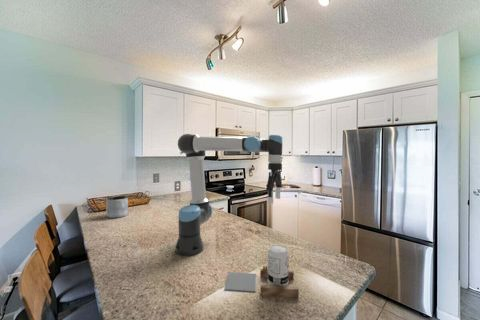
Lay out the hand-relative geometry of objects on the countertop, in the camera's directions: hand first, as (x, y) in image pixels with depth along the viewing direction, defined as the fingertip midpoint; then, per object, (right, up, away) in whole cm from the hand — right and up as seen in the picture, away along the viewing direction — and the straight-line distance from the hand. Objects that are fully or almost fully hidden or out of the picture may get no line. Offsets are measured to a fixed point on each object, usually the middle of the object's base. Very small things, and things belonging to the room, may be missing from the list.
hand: (274, 200), depth 118 cm
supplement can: (-4, -28, -33) cm, 44 cm away
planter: (-124, -25, +62) cm, 141 cm away
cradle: (-4, -28, -33) cm, 44 cm away
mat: (-19, -28, -31) cm, 46 cm away
